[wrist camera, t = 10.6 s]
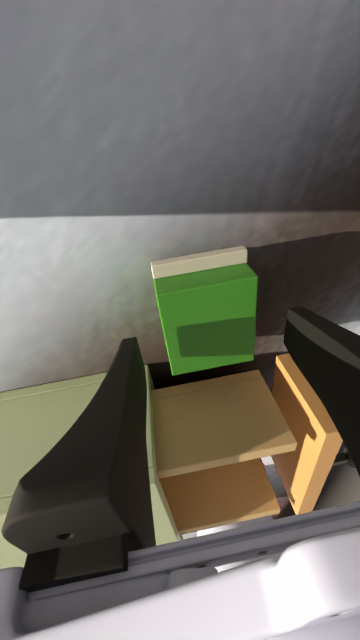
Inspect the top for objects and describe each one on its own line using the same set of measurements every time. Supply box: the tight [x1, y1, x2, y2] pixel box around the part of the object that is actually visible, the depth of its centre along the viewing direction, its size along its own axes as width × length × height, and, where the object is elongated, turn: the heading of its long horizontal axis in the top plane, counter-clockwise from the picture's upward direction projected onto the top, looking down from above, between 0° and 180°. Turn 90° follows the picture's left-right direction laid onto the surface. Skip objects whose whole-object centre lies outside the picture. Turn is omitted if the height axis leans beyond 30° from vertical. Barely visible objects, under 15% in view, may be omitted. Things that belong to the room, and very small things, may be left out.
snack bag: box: [151, 246, 258, 375], centre depth 15 cm, size 7×5×4 cm
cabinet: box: [0, 365, 183, 569], centre depth 19 cm, size 14×13×8 cm
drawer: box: [151, 353, 356, 535], centre depth 19 cm, size 17×11×6 cm, turn 97°
